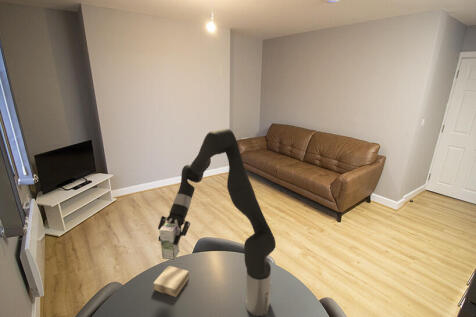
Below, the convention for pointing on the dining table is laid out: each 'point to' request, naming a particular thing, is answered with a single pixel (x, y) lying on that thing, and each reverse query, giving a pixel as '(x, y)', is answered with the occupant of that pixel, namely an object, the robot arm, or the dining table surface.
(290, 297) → the dining table surface
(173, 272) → the birch stand
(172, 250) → the syrup box
